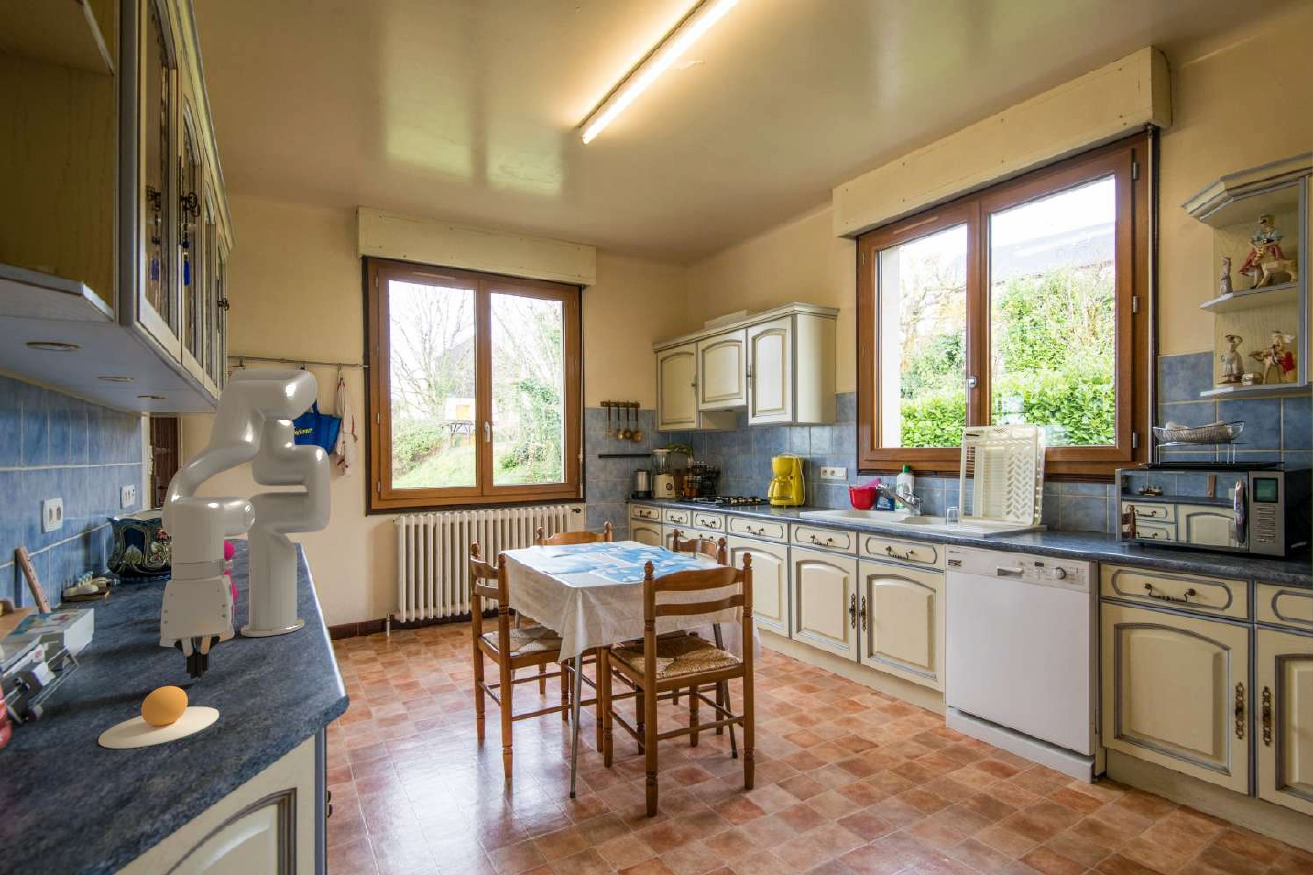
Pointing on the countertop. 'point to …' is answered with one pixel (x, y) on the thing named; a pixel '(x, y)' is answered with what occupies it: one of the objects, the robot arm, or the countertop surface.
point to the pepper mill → (228, 554)
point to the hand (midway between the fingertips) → (198, 675)
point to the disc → (157, 729)
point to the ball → (164, 705)
